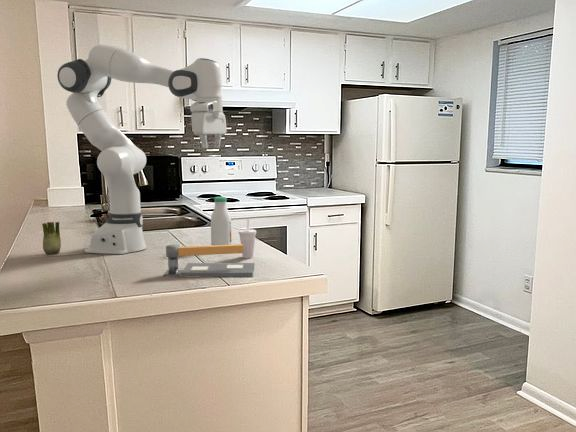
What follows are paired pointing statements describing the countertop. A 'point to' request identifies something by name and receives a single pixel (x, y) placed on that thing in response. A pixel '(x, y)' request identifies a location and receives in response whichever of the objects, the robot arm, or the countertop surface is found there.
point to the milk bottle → (220, 223)
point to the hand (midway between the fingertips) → (211, 147)
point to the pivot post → (173, 267)
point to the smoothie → (247, 241)
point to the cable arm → (202, 250)
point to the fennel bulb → (51, 238)
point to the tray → (218, 269)
